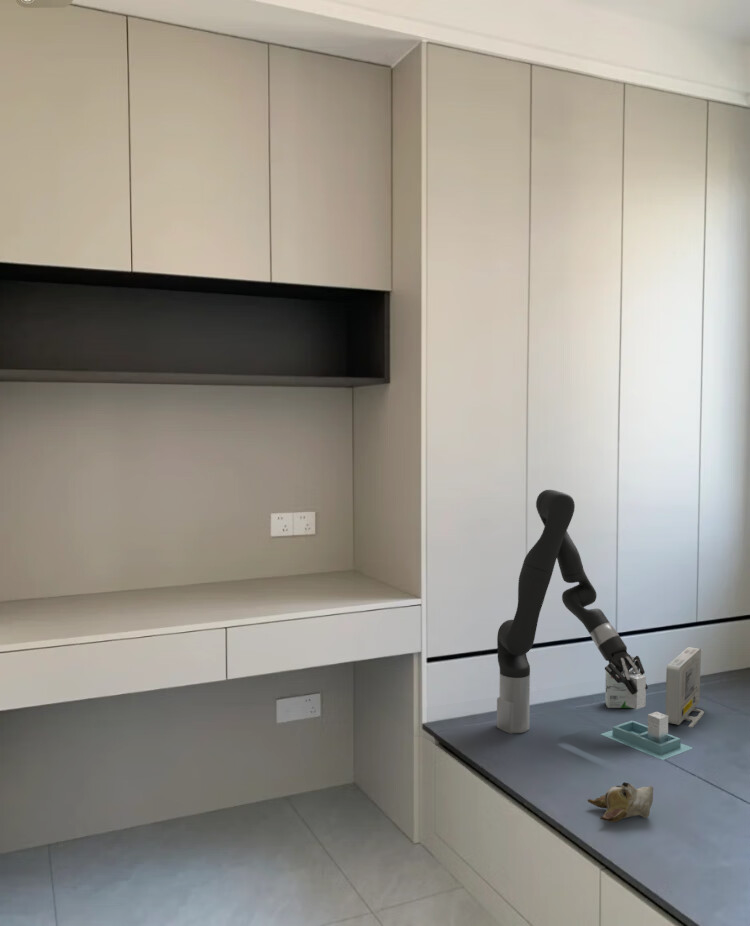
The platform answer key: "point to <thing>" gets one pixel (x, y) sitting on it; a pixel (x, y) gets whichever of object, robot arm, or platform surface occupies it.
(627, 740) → the teal flat tray
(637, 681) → the block
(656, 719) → the block
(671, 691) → the network device
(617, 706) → the ink box
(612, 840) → the platform surface
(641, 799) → the ceramic sculpture
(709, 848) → the platform surface
